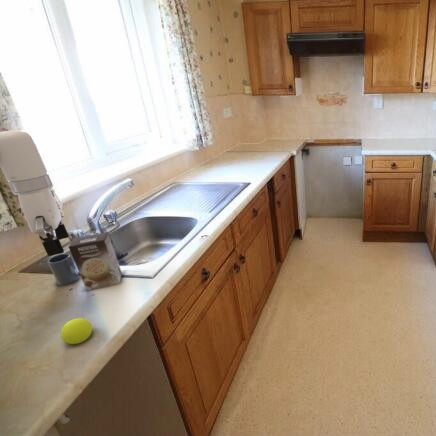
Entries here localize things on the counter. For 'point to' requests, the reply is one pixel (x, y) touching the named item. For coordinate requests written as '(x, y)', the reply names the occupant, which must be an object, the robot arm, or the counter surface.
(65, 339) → the ball
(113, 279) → the coffee box
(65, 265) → the tumbler
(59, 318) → the counter surface
